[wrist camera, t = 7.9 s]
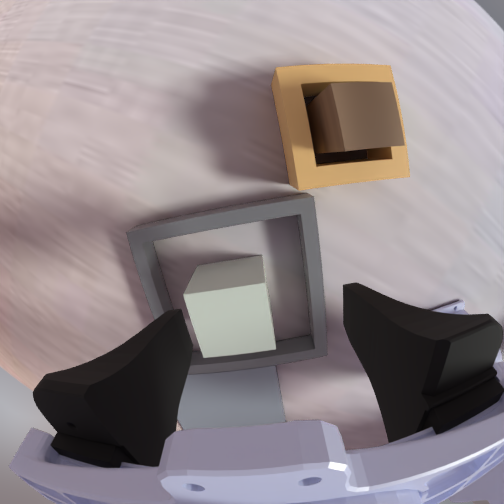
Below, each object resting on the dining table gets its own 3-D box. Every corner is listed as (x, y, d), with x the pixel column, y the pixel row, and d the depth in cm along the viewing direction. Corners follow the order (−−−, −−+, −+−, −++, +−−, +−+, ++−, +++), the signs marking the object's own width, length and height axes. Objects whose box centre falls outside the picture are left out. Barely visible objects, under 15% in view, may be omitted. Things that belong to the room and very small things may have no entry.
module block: (262, 254, 21) (265, 282, 16) (271, 311, 23) (276, 349, 18) (197, 265, 21) (183, 294, 17) (212, 320, 23) (203, 357, 18)
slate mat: (274, 362, 24) (275, 365, 24) (287, 431, 28) (287, 434, 28) (154, 373, 25) (153, 376, 24) (191, 438, 29) (190, 441, 28)
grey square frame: (307, 193, 19) (313, 196, 18) (322, 341, 23) (327, 355, 22) (136, 225, 20) (126, 232, 18) (181, 360, 24) (177, 374, 22)
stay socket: (367, 79, 17) (390, 65, 13) (383, 172, 19) (410, 177, 15) (271, 85, 17) (275, 67, 13) (289, 184, 19) (299, 190, 15)
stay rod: (348, 104, 17) (391, 82, 11) (356, 148, 18) (405, 145, 12) (304, 108, 18) (330, 83, 11) (313, 153, 19) (345, 151, 12)
